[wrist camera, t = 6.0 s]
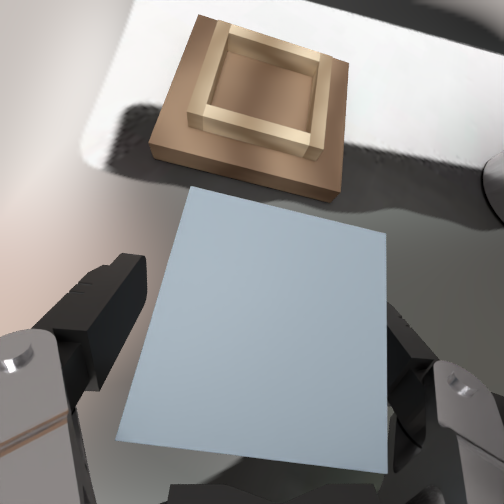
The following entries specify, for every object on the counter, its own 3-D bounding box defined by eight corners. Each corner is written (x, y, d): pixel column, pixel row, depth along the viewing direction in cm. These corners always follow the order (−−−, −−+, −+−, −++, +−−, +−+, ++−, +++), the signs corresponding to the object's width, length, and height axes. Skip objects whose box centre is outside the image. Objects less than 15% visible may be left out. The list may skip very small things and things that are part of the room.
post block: (275, 289, 15) (385, 233, 5) (264, 366, 14) (388, 474, 4) (204, 274, 14) (190, 186, 5) (185, 353, 13) (114, 440, 4)
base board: (339, 80, 21) (357, 47, 19) (330, 202, 17) (350, 182, 15) (199, 35, 20) (197, -6, 18) (154, 158, 16) (142, 127, 14)
